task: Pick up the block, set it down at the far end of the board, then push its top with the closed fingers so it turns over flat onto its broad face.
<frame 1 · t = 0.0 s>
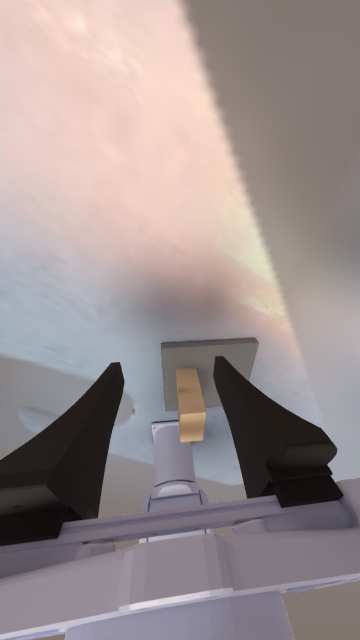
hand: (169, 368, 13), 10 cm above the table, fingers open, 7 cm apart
block: (185, 382, 26), point 1 cm above the table, touching board
board: (205, 374, 28), on the table
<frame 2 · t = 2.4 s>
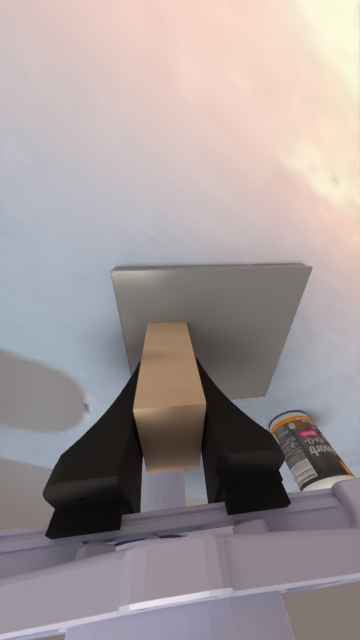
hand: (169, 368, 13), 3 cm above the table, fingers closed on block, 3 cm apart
block: (168, 352, 14), point 1 cm above the table, touching board, gripper
pill bottle: (286, 420, 24), on the table
board: (205, 342, 16), on the table
when the fingers open (4 cm above the table, at t = 5.5 s): block stays where it is, resting on board.
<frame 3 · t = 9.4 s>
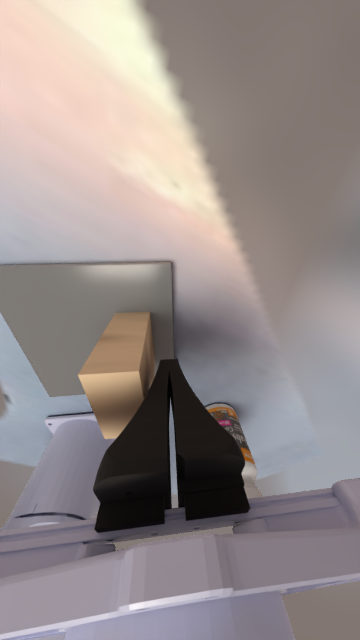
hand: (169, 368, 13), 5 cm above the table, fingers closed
block: (137, 340, 16), point 1 cm above the table, touching board, gripper
pill bottle: (215, 412, 25), on the table
board: (103, 335, 17), on the table
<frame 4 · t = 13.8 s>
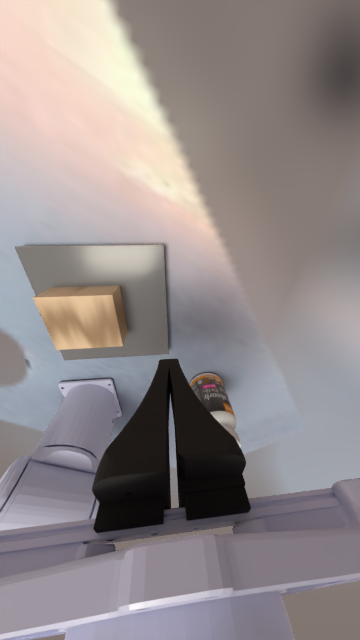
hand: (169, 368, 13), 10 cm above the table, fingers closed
block: (121, 316, 18), point 3 cm above the table, tilted 90°, touching board
pill bottle: (204, 382, 29), on the table
board: (109, 306, 21), on the table
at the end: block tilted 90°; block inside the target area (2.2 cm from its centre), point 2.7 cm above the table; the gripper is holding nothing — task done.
